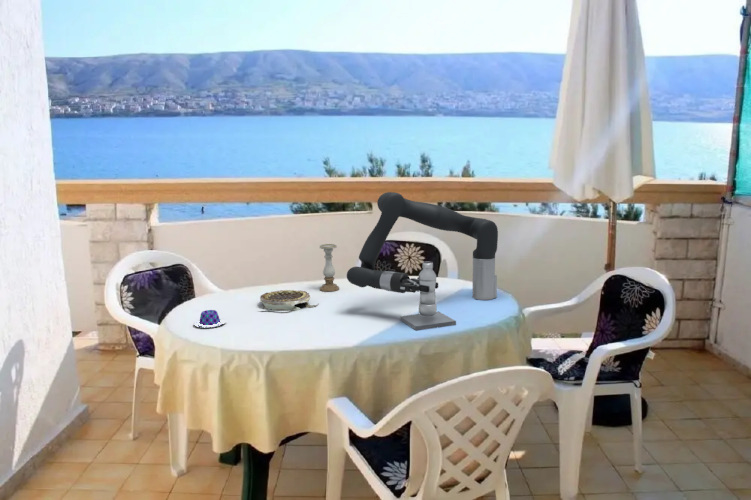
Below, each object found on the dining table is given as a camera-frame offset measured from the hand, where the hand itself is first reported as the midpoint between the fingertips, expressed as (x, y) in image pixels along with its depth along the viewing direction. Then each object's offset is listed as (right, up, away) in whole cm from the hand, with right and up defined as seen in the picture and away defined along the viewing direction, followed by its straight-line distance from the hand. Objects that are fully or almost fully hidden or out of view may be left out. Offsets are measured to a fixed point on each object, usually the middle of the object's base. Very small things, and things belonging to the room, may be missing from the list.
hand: (433, 287), depth 236 cm
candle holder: (-42, -4, +57) cm, 71 cm away
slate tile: (-2, -13, +4) cm, 14 cm away
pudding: (-83, -15, +7) cm, 85 cm away
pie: (-58, -10, +34) cm, 68 cm away
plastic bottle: (-2, -11, +4) cm, 12 cm away
